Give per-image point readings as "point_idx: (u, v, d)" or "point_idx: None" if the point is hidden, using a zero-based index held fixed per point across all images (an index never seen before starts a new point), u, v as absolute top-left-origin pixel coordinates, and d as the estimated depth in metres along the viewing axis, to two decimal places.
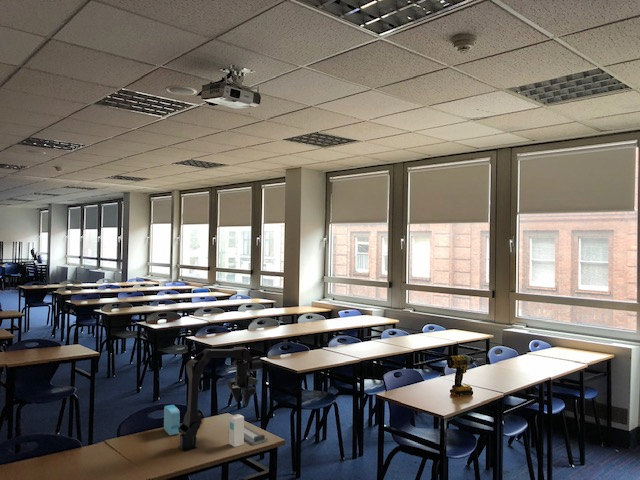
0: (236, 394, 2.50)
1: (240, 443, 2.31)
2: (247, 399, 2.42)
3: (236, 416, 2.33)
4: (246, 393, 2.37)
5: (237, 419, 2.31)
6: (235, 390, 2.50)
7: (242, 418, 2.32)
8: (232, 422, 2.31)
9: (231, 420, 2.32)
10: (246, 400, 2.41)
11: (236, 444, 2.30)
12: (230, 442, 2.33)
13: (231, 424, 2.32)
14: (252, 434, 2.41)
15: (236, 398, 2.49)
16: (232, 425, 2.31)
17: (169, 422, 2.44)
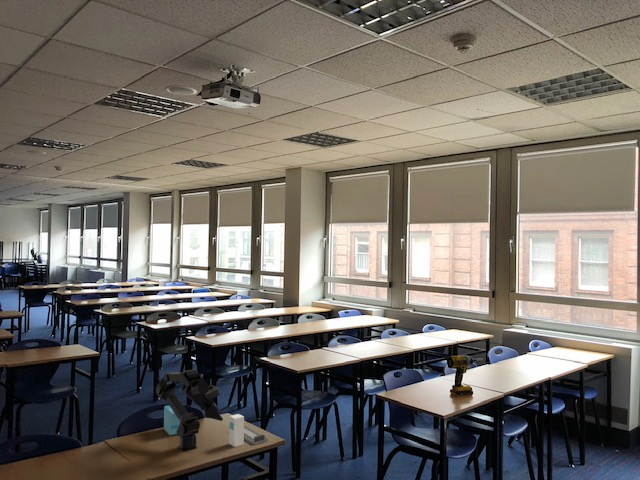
0: None
1: (240, 443, 2.31)
2: (217, 415, 2.24)
3: (236, 416, 2.33)
4: (207, 416, 2.20)
5: (237, 419, 2.31)
6: None
7: (242, 418, 2.32)
8: (232, 422, 2.31)
9: (231, 420, 2.32)
10: (216, 417, 2.24)
11: (236, 444, 2.30)
12: (230, 442, 2.33)
13: (231, 424, 2.32)
14: (252, 434, 2.41)
15: None
16: (232, 425, 2.31)
17: (169, 422, 2.44)
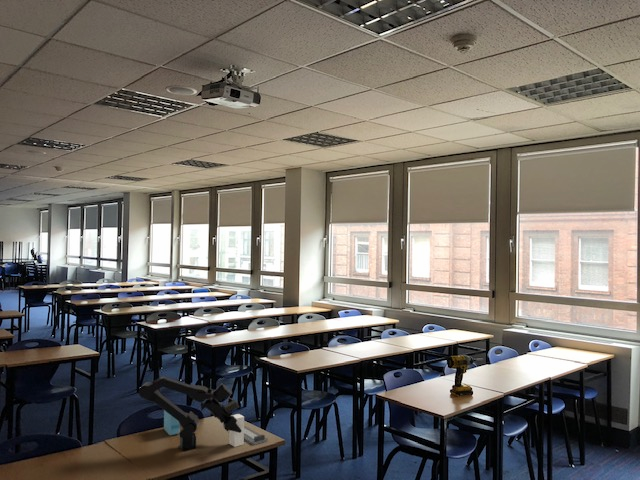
0: None
1: (240, 443, 2.31)
2: (235, 427, 2.29)
3: (236, 416, 2.33)
4: (227, 430, 2.23)
5: (237, 419, 2.31)
6: None
7: (242, 418, 2.32)
8: None
9: None
10: (235, 429, 2.29)
11: (236, 444, 2.30)
12: (230, 442, 2.33)
13: None
14: (252, 434, 2.41)
15: None
16: None
17: (169, 422, 2.44)
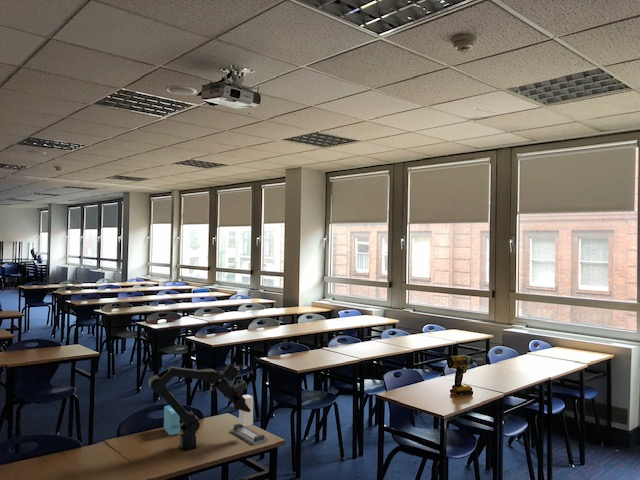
0: None
1: (249, 422, 2.38)
2: (244, 407, 2.35)
3: (245, 396, 2.39)
4: (236, 409, 2.29)
5: (246, 399, 2.37)
6: None
7: (251, 398, 2.39)
8: None
9: None
10: (244, 408, 2.35)
11: (245, 423, 2.37)
12: (239, 422, 2.39)
13: None
14: (252, 434, 2.41)
15: None
16: None
17: (169, 422, 2.44)
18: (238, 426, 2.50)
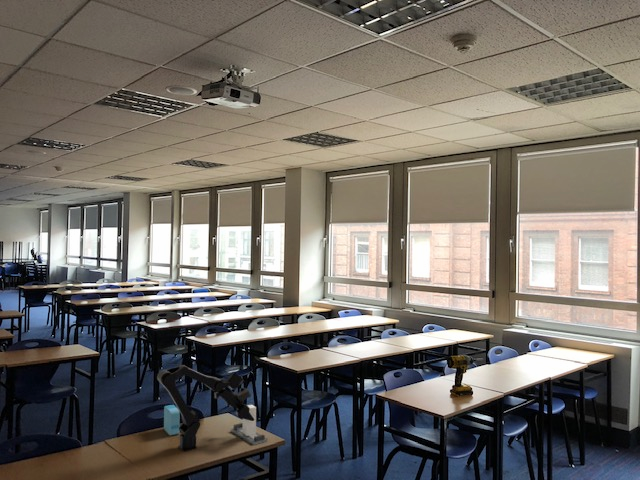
0: None
1: (252, 432, 2.41)
2: (248, 416, 2.37)
3: (249, 406, 2.43)
4: (240, 417, 2.32)
5: None
6: None
7: (254, 409, 2.41)
8: None
9: None
10: (248, 417, 2.37)
11: (248, 433, 2.40)
12: (243, 431, 2.43)
13: None
14: None
15: None
16: None
17: (169, 422, 2.44)
18: (238, 426, 2.50)
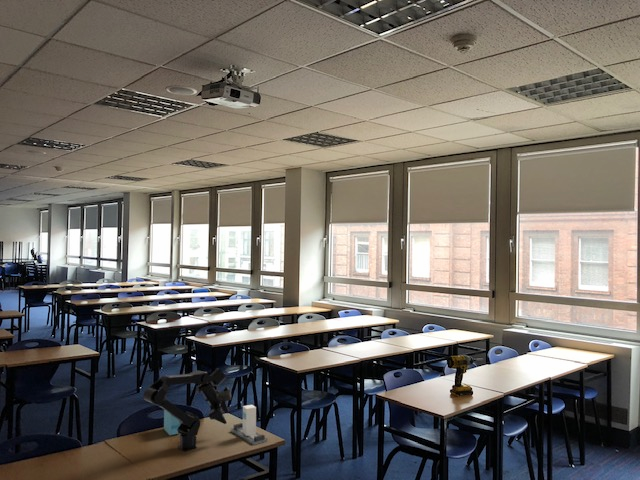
0: (223, 407, 2.45)
1: (252, 432, 2.41)
2: (221, 418, 2.34)
3: (249, 406, 2.43)
4: (210, 418, 2.30)
5: (249, 409, 2.40)
6: (220, 404, 2.44)
7: (254, 409, 2.41)
8: (244, 412, 2.41)
9: (244, 410, 2.42)
10: (220, 420, 2.35)
11: (248, 433, 2.40)
12: (243, 431, 2.43)
13: (244, 414, 2.42)
14: None
15: (225, 410, 2.45)
16: (244, 415, 2.41)
17: (169, 422, 2.44)
18: (238, 426, 2.50)
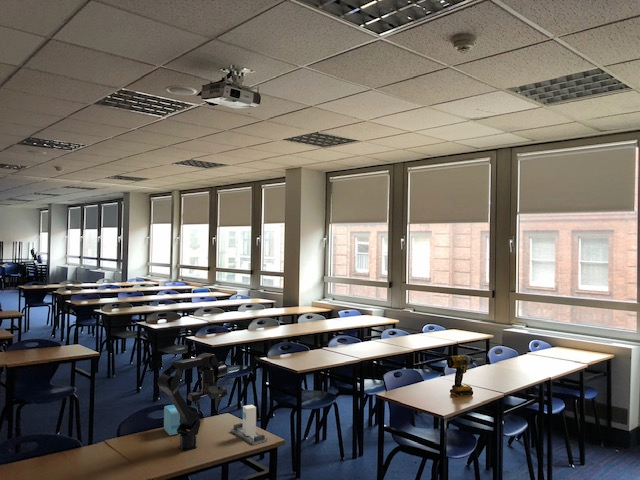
0: (216, 402, 2.42)
1: (252, 432, 2.41)
2: (196, 406, 2.36)
3: (249, 406, 2.43)
4: None
5: (249, 409, 2.40)
6: (216, 397, 2.43)
7: (254, 409, 2.41)
8: (244, 412, 2.41)
9: (244, 410, 2.42)
10: (196, 407, 2.36)
11: (248, 433, 2.40)
12: (243, 431, 2.43)
13: (244, 414, 2.42)
14: None
15: (215, 406, 2.42)
16: (244, 415, 2.41)
17: (169, 422, 2.44)
18: (238, 426, 2.50)
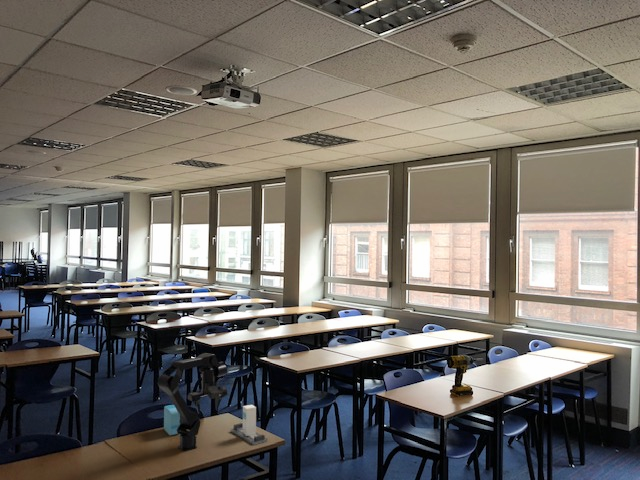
0: (216, 402, 2.42)
1: (252, 432, 2.41)
2: (196, 406, 2.36)
3: (249, 406, 2.43)
4: None
5: (249, 409, 2.40)
6: (216, 397, 2.43)
7: (254, 409, 2.41)
8: (244, 412, 2.41)
9: (244, 410, 2.42)
10: (196, 407, 2.36)
11: (248, 433, 2.40)
12: (243, 431, 2.43)
13: (244, 414, 2.42)
14: None
15: (215, 406, 2.42)
16: (244, 415, 2.41)
17: (169, 422, 2.44)
18: (238, 426, 2.50)
